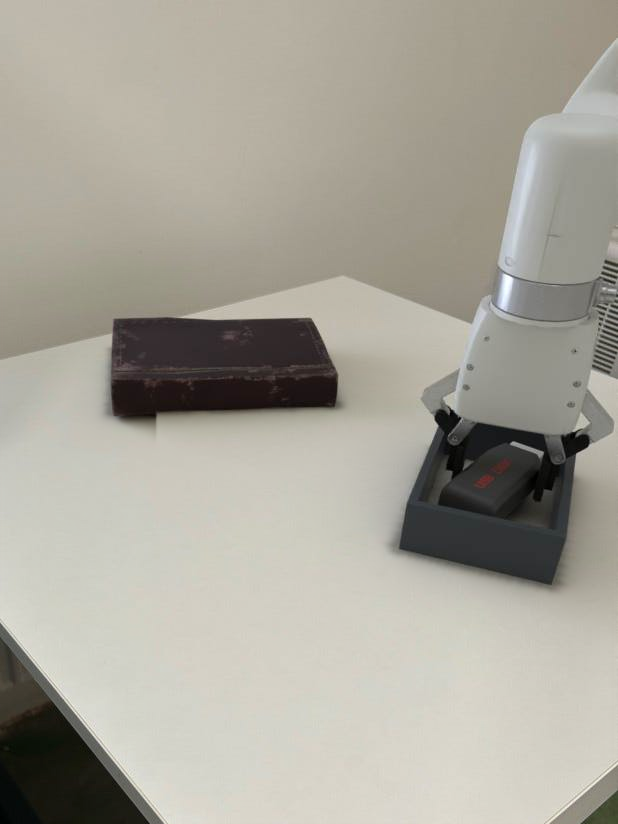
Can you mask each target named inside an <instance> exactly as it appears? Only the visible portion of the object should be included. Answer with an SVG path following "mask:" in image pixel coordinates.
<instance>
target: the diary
mask: <svg viewBox="0 0 618 824" xmlns="http://www.w3.org/2000/svg"><path fill="white" fill-rule="evenodd" d="M110 353H111V355H110V356H111V357H110V394H111V395H110V396H111V399H110V400H111V409H112V410H111V411H112V416H113V417H123V416H137V415H138V416H139V415H141V416H142V415H155V414H158V413H159V412H160V413H161V412H190V411H192V412H193V411H233V410H235V411H236V410H255V409H256V410H258V409H281V408H331V407H332V408H334V407H336V405H337V397H338V388H339V387H338V386H339V373H338V371H337V369H336V366H335V365H334V363H333V360H332V358H331V356H330V354H329V352H328V349H327V347H326V344H325V341H324V339H323V337H322V335H321V334H320V331H319V329H318V327H317V325H316V324H315V322H314V320H313V319H312V317H282V318H281V317H277V318H275V317H274V318H273V317H272V318H240V319H239V318H237V319H236V318H235V319H208V318H188V317H173V316H163V317H162V316H158V317H155V316H154V317H124V318H123V317H121V318H113V319H112V331H111V352H110ZM157 412H158V413H157Z"/></svg>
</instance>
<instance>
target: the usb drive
mask: <svg viewBox="0 0 618 824" xmlns="http://www.w3.org/2000/svg"><path fill="white" fill-rule="evenodd" d="M543 454H544V452H542V451H539V450H537V449H534V448H531V447H528V446H525V445H522V444H520V443H517V442H514V441H513V442H512V443H510V444H507V443H504V444H502V445H499V446H497V447H494V448H492V449H489V450H488V451H486V452H485V453H484V454H483V455H481V456H480V457H479V458H478V459H476V460H475V461H472V462H471V463H470V464H469V465H468V466H466V467H465V468H463V471H462V472H460V473H459V474H458V475H457V476H455V477H454V478H453V479H452V480H451V479H450V480H449V481H448V482H447V483H446V484H444V486H443V487H442V489H441V491H440V494H439V497H438V501H437V505H441V506H445V507H450V508H455V509H459V510H464V511H468V512H473V513H478V514H482V515H487V516H491V517H496V518H501V519H505V518H507V516H508V515H509V514H511V513H512V512H513V511H514V510H515V509H516V508H517V507H518V506H519V505H520V504H521V503H522V502H523V501H524V500H525V499H527V497H529V496H530V495H531V494H532V493H534V489H535V484H536V480H537V476H538V473H539V469H540V465H541V461H542V458H543Z"/></svg>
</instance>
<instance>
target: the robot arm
mask: <svg viewBox="0 0 618 824" xmlns="http://www.w3.org/2000/svg"><path fill="white" fill-rule="evenodd" d="M519 152H520V153H519V156H518V162H517V167H516V172H515V176H514V182H513V187H512V192H511V196H510V201H509V206H508V211H507V216H506V221H505V226H504V231H503V236H502V241H501V245H500V249H499V250H500V251H499V256H498V260H497V265H496V269H495V274H494V282H493V285H492V289H491V290H492V291H491V294H488V295H485V296H484V297H482V298H481V301H480V303H479V306H478V308H477V310H476V313H475V316H474V319H473V321H472V324H471V328H470V330H469V334H468V337H467V340H466V345H465V348H464V352H463V356H462V359H461V364H460V367H459V368H457V369H456V370H454V371H453V372H450V373H449V374H447V375H446V376H444V377H442V378H441V379H439V380H437V381H436V382H434V383H432V384H430V385H428V386H427V387H426V388H424V389H423V391H422V394H421V395H420V400H421V402H422V404H423V405H424V406H425V408H426V409H427V411H428V413H430V414H431V415H432V417H433V420H434V422H435V423H436V424H437V427H438V426H439V427H440V428H441V429H442V431H443V432H444V433H445V434H446V436H447V437H448V442H449V443H450V449H449V454H448V455H447V459H446V465H445V471H449V472H451V477H450V481H451V480H452V479H453V478H454V477H455V476H457V475H458V474H459V473H460V472H462V471H463V470H464V469H465V468H464V467H465V462H466V460H467V459H466V454H467V449H468V444H469V439H470V435H468V433H469V432H470V431H471V429H472V428H473V427H474V426H475V425H476V423H477V422H478V423H483V424H489V425H494V426H499V427H505V428H511V429H516V430H522V431H528V432H533V433H539V434H544V437H545V441H546V445H547V449H545V450H544V454H543V458H542V461H541V465H540V469H539V473H538V476H537V480H536V484H535V489H534V491H533V494H532V500H534V502H537V503H542V499H543V496H544V492H545V491H550V492H553V489H554V486H555V484H556V479H557V477H556V476H557V472H558V469H559V465H560V464H562V463H564V461H565V459H567V458H569V457H571V456H573V455H575V454H576V455H577V454H579V453H580V452H582V451H584V450H586V449H587V448H589V446H590V445H592V444H595V443H597V442H599V441H600V440H602V439H604V438H606V437H608V436H609V435H611V434H613V432H614V430H615V421H614V419H613V418H612V416H610V414H609V413H608V411H607V410H606V409H605V408H604V406H603V405H602V404H601V403H600V402H599V400H598V399H597V398H596V397H595V396H594V395H593V393H592V392H591V391H590V389H589V388H588V386H589V381H590V378H591V373H592V368H593V363H594V359H595V353H596V348H597V347H596V346H597V341H598V335H599V323H600V312H599V311H598V310H597V309H596V308H597V306H598V305H604V304H609V305H614V303H615V301H616V297H617V294H618V285H614V284H609V282H605V281H604V278H601V275H602V272H603V268H604V264H605V261H606V259H607V258H606V257H607V254H608V250H609V246H610V243H611V240H612V235H613V234H614V229H615V227H616V226H618V37H617V38H616V39H615V40H614V41H612V43H611V44H610V45H609V47H608V48H607V49H606V50H605V51H604V52H603V54H602V55H601V57H599V59H598V60H597V62H596V63H595V64H594V65H593V67H592V69H591V70H590V71H589V72H588V74H586V75H585V77H584V79H583V80H582V82H581V83H580V84H579V85H578V86H577V88H576V90H575V91H574V92H573V94H572V95H571V97H570V98H569V99H568V101H567V103H566V104H565V107H564V108H563V109H562V111H561V112H558V113H550V114H546V115H544V116H541V117H538V118H537V119H535V120H534V121H533V122H532V123H531V124H530V125H529V127H528V128H527V130H526V131H525V134H524V136H523V139H522V143H521V147H520V151H519ZM452 393H454V397H453V404H452V405H453V407H451V406H449V404H447V403H446V400H444V398H445V397H447V396H448V395H450V394H452ZM453 410H454V412H455V413H456V414H457V415H458V417H457V415H456V414H455V413H454V412H453ZM581 414H582V415H583V416H584V417H585V419H587V421H588V422H589V424H587V425H586V426H585V427H583V428H578V429H577V430H575V428H576V426H577V424H578V421H579V419H580V415H581ZM574 430H575V431H574ZM571 432H573V433H571ZM569 433H571V434H569ZM565 434H569V435H567V436H566V435H565Z"/></svg>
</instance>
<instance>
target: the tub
mask: <svg viewBox="0 0 618 824" xmlns="http://www.w3.org/2000/svg"><path fill="white" fill-rule="evenodd" d="M452 410H453V412H454V409H452ZM454 413H455V412H454ZM455 414H456V413H455ZM456 415H457V414H456ZM457 417H458V415H457ZM573 432H574V431H572V432H571V433H573ZM571 433H569V434H571ZM569 434H565V435H566V436H567V435H569ZM468 435H470V439H469V444H468V449H467V454H466V459H465V460H468V461H472V462H474V461H475V460H476V459H478V458H479V457H480V456H481V455H483V454H484V453H485V452H486V451H488V450H489V449H492V448H494V447H497V446H499V445H502V444H504V443H507V444H510V443H512V442H513V441H514V442H517V443H520V444H522V445H525V446H528V447H531V448H534V449H537V450H539V451H542V452H544V450H545V449H547V445H546V441H545V437H544V434H539V433H533V432H528V431H522V430H516V429H511V428H505V427H499V426H494V425H489V424H483V423H478V422H477V423H476V425H475V426H474V427H473V428H472V429H471V431H470V432H469V433H468ZM449 449H450V443H449V442H448V437H447V436H446V434H445V433H444V432H443V431H442V429H441V428H440V427H439V426H438V425H437V428H436V431H435V433H434V435H433V438H432V440H431V443H430V445H429V448H428V450H427V452H426V455H425V458H424V459H423V462H422V465H421V466H420V470H419V472H418V475H417V477H416V480H415V482H414V484H413V486H412V489H411V492H410V495H409V497H408V499H407V502H406V504H405V509H404V510H405V511H404V516H403V522H402V528H401V532H400V533H401V534H400V538H399V539H400V540H399V545H398V550H402V551H406V552H410V553H414V554H418V555H423V556H427V557H430V558H435V559H439V560H443V561H448V562H451V563H456V564H461V565H464V566H469V567H473V568H476V569H482V570H486V571H490V572H494V573H498V574H502V575H507V576H510V577H515V578H519V579H524V580H528V581H532V582H537V583H541V584H545V585H550V586H552V584H553V581H554V578H555V575H556V571H557V569H558V566H559V562H560V559H561V556H562V554H563V551H564V547H565V544H566V540H567V536H568V528H569V519H570V511H571V503H572V495H573V486H574V476H575V469H576V459H577V454H575V455H573V456H571V457H569V458H567V459H565V461H564V463H562V464H560V465H559V469H558V472H557V476H556V479H555V485H554V486H555V487H554V494H553V500H552V505H551V513H550V521H549V528H546V527H542V526H537V525H532V524H529V523H528V524H527V523H523V522H518V521H515V520H510V519H505V518H504V519H501V518H496V517H491V516H487V515H482V514H478V513H473V512H468V511H464V510H459V509H455V508H450V507H445V506H441V505H438V504H435V503H432V502H427V501H428V498H429V496H430V493H431V490H432V488H433V486H434V482H435V480H436V477H437V475H438V471H439V469H440V466H441V464H442V462H443V458H444V456H448V454H449Z"/></svg>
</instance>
